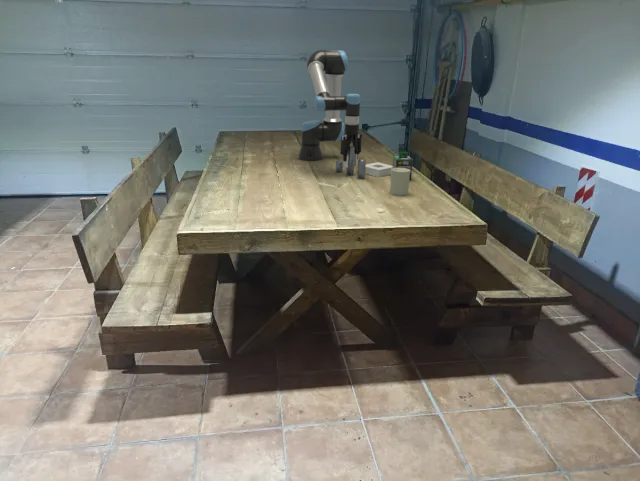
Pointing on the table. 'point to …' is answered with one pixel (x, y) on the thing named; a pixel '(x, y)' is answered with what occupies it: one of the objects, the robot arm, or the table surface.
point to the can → (399, 181)
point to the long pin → (350, 161)
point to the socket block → (378, 169)
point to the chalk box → (403, 162)
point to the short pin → (339, 166)
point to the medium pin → (361, 168)
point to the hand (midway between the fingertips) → (350, 166)
